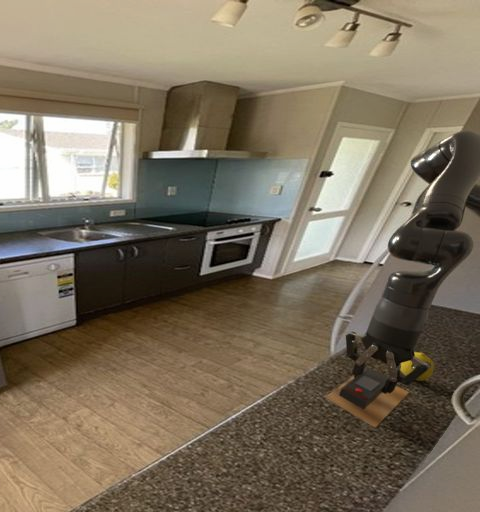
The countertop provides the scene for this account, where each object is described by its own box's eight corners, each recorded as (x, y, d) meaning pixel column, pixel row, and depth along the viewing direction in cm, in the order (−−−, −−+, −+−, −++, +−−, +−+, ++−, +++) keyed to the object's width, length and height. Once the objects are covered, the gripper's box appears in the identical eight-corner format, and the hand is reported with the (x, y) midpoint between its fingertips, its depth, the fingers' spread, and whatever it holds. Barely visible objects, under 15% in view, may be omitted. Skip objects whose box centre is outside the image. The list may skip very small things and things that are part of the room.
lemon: (430, 391, 69) (444, 363, 66) (399, 381, 71) (410, 355, 69) (421, 377, 73) (433, 351, 71) (392, 369, 76) (402, 343, 73)
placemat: (361, 370, 75) (361, 369, 75) (408, 393, 68) (409, 392, 68) (324, 398, 66) (324, 397, 66) (374, 429, 58) (375, 427, 58)
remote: (365, 374, 70) (368, 366, 69) (389, 386, 66) (392, 378, 65) (338, 395, 63) (341, 387, 62) (363, 409, 60) (367, 401, 59)
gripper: (348, 309, 65) (327, 370, 70) (441, 342, 53) (408, 413, 58) (362, 302, 68) (341, 361, 74) (453, 332, 56) (420, 400, 62)
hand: (371, 384), depth 66 cm, fingers closed on remote, 4 cm apart
